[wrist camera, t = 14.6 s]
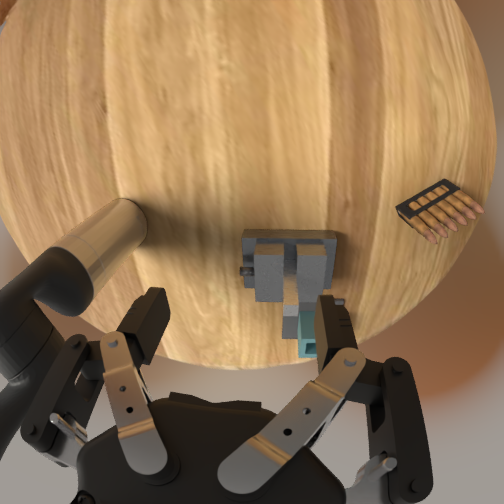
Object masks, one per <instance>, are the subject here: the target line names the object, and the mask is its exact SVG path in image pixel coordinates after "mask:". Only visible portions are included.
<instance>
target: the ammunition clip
mask: <svg viewBox="0 0 504 504" xmlns="http://www.w3.org/2000/svg"><path fill="white" fill-rule="evenodd" d="M468 207H469V208H471V209H473V210H474V211H476V212H478V213H481V214H484V213H485V212H484V210H483V208H482V207H481V206H480V205H479V204H478V203H476V202H475V201H474V200H473V199H471V197H470V196H468V195H467V194H465V193H463V192H462V191H460V188H459V187H457V186H456V185H454V184H452V183H451V182H449V181H448V180H446V179H443V180H441V181H439V182H437V183H436V184H434V185H432V186H431V187H429V188H427V189H425V190H424V191H422V192H420V193H419V194H417V195H415V196H413V197H412V198H410V199H408V200H406V201H405V202H403V203H401V204H399V205H397V206H396V210H397V212H398V215H399V217H401V218H402V219H403V220H404V221H405V222H406V223H407V224H409V225H410V226H411V227H412V228H414V229H415V230H416V231H417V232H418V233H420V234H421V235H423V236H424V237H425V238H426V239H427V240H428V241H430V242H431V243H433V244H437V239H436V237H435V236H434V234H433V233H432V232H431V231H430V229H429V228H431V229H433V230H434V231H435V232H437V233H438V234H439V235H440V236H442V237H445V238H448V234H447V232H446V230H445V229H444V228H443V227H442V226H441V225H440V223H442V224H444V225H445V226H446V227H448V228H449V229H451V230H453V231H458V228H457V226H456V224H455V223H454V222H453V221H452V220H451V219H450V218H452V219H454V220H455V221H457V222H458V223H460V224H462V225H467V221H466V220H465V218H464V217H463V216H462V215H461V214H460V213H462V214H464V215H465V216H466V217H468V218H471V219H476V216H475V214H474V213H473V212H472V211H471V210H470V209H469V208H468ZM459 212H460V213H459ZM449 217H450V218H449ZM438 221H439V222H440V223H439V222H438ZM427 226H428V227H429V228H428V227H427Z"/></svg>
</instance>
